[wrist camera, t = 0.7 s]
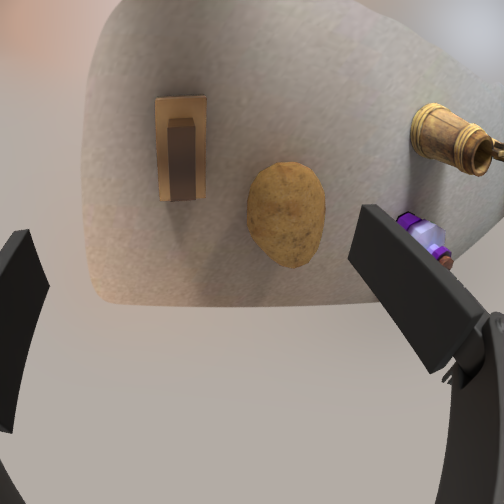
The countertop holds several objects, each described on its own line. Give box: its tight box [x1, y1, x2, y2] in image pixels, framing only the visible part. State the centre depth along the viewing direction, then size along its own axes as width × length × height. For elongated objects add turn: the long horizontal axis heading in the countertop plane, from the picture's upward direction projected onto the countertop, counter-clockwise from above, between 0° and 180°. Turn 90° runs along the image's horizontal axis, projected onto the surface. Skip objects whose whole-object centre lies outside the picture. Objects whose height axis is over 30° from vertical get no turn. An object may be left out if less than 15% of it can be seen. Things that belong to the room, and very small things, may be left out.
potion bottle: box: [396, 211, 454, 271], centre depth 42 cm, size 9×9×12 cm
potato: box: [247, 162, 326, 269], centre depth 35 cm, size 10×14×8 cm
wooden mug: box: [410, 103, 504, 177], centre depth 30 cm, size 9×14×18 cm, turn 106°
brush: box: [155, 94, 207, 202], centre depth 28 cm, size 11×5×8 cm, turn 177°
